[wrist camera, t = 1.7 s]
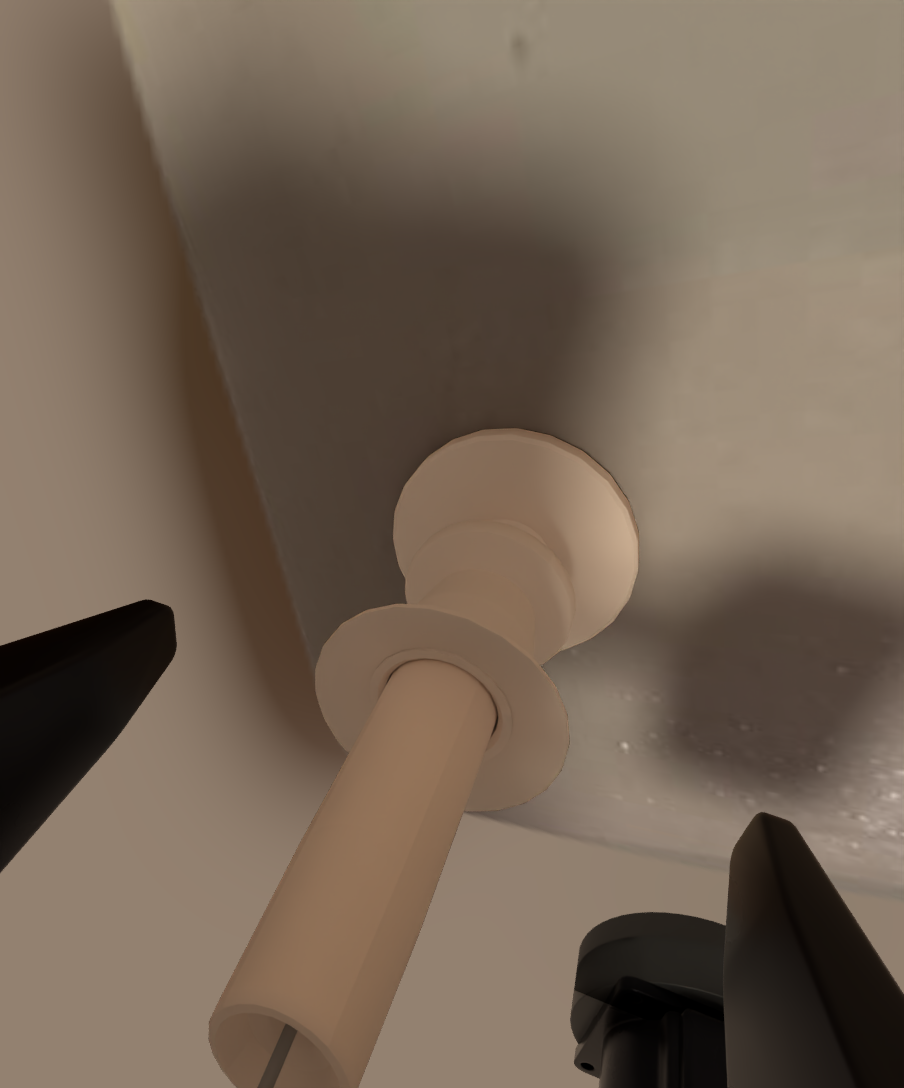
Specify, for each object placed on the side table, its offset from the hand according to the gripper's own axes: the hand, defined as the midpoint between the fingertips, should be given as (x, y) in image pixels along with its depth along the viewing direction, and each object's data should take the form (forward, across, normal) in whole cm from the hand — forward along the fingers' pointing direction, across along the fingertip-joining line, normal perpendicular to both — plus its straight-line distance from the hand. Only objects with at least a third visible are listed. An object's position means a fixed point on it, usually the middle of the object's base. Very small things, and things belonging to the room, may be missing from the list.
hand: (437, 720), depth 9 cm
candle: (+6, 0, 0) cm, 6 cm away
